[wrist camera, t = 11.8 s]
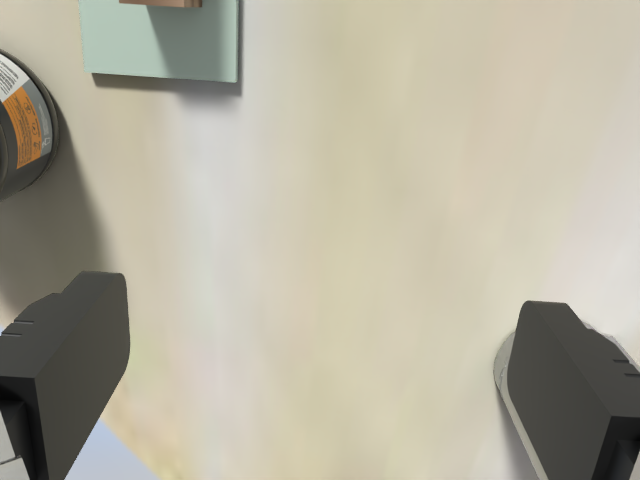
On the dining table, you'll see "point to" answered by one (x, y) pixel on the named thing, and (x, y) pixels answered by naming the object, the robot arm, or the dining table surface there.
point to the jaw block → (165, 2)
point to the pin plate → (161, 39)
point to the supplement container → (24, 126)
